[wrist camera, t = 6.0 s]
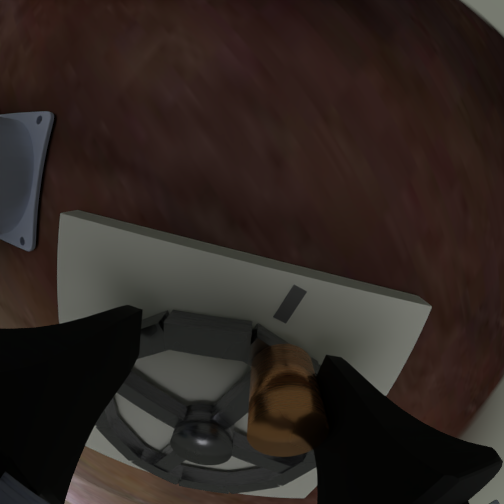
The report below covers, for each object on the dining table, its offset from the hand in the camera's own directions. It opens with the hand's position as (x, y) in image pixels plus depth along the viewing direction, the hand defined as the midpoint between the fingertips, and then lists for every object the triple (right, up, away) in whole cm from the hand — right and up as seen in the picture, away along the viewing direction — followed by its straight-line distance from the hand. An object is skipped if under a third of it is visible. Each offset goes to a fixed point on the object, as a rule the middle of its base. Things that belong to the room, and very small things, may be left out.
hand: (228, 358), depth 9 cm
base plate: (-1, -5, +5) cm, 7 cm away
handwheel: (-2, -5, +3) cm, 6 cm away
